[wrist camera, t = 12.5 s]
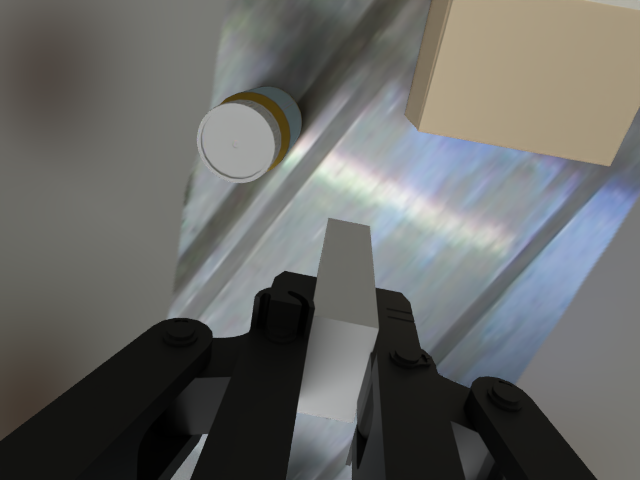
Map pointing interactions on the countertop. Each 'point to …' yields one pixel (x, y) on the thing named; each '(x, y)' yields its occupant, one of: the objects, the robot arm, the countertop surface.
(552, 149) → the flap
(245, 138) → the bottle
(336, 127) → the countertop surface
